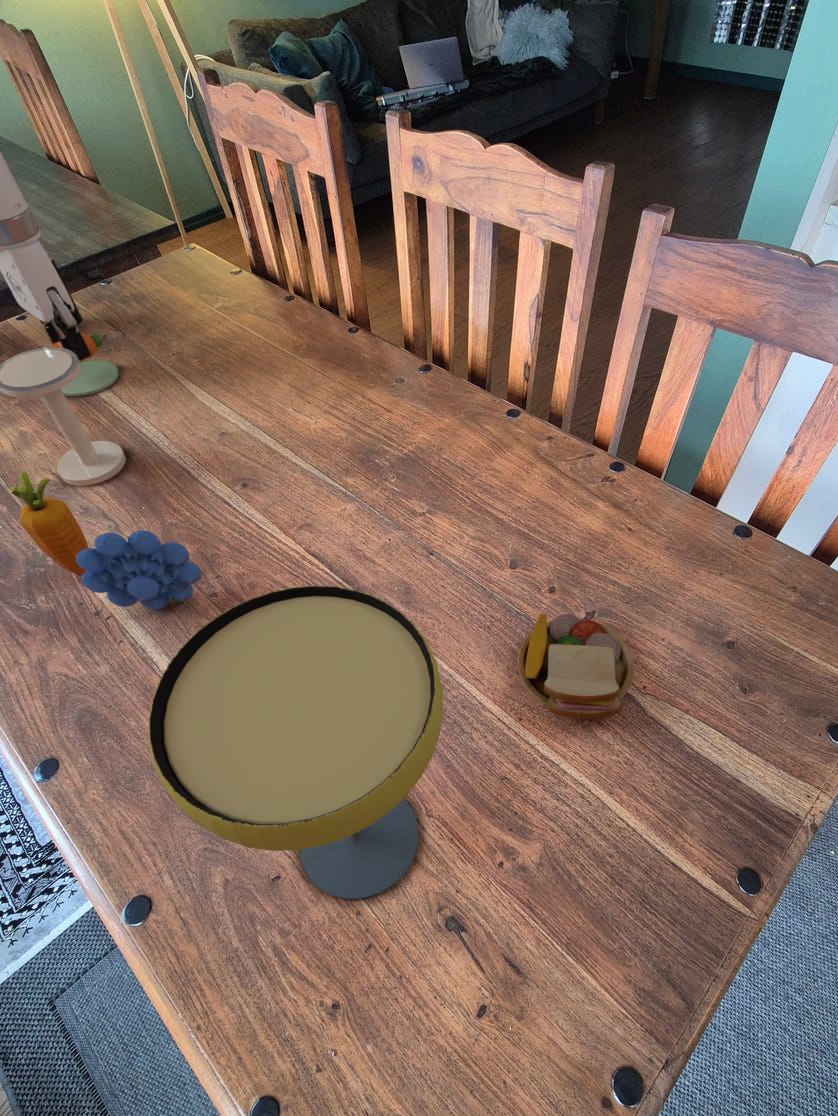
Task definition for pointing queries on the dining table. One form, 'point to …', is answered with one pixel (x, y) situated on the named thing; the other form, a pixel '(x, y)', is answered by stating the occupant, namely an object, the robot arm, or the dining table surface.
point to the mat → (92, 378)
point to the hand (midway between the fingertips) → (74, 353)
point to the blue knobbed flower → (138, 570)
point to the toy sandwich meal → (576, 667)
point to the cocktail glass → (303, 731)
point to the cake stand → (61, 411)
